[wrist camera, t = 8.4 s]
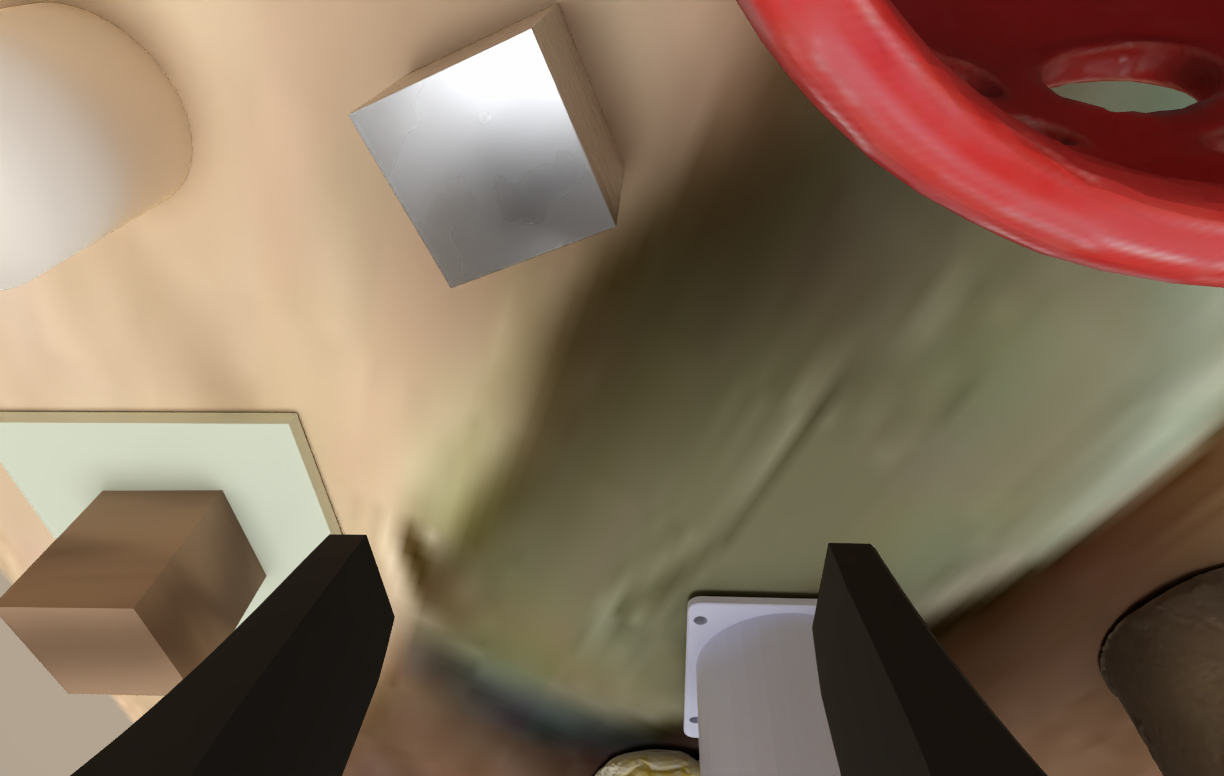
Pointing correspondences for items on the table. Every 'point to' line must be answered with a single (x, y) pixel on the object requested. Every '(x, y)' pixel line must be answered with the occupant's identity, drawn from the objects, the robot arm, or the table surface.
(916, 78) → the plant pot
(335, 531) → the plate
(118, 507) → the walnut block
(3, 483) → the table surface
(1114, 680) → the pillar candle
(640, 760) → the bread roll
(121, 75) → the white rounded dome
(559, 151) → the grey metal block
